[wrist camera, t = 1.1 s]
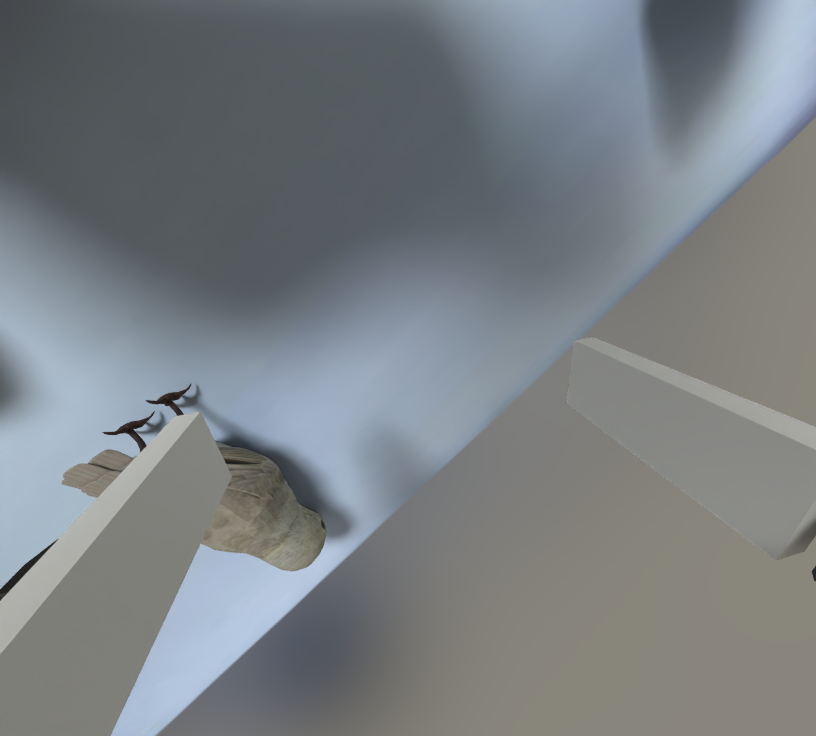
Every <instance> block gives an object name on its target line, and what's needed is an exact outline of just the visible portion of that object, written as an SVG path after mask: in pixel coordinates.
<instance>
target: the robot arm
mask: <svg viewBox="0 0 816 736" xmlns="http://www.w3.org/2000/svg"><path fill="white" fill-rule="evenodd" d="M566 403H567V404H568V405H569V406H571V407H572V408H574V409H575V410H576V411H577V412H579V413H580V414H581V415H583V416H584V417H585V418H587V419H588V420H589V421H591V422H592V423H593V424H595V425H596V426H597V427H599V428H600V429H601V430H603V431H604V432H605V433H607V434H608V435H609V436H610V437H612V438H613V439H615V440H616V441H617V442H619V443H620V444H621V445H623V446H624V447H625V448H627V449H628V450H629V451H630V452H632V453H633V454H635V455H636V456H637V457H639V458H640V459H641V460H642V461H644V462H645V463H646V464H648V465H649V466H650V467H652V468H653V469H654V470H656V471H657V472H658V473H660V474H661V475H662V476H664V477H665V478H666V479H668V480H669V481H670V482H672V483H673V484H674V485H676V486H677V487H678V488H680V489H681V490H682V491H684V492H685V493H686V494H688V495H689V496H690V497H692V498H693V499H694V500H695V501H697V502H698V503H700V504H701V505H702V506H703V507H705V508H706V509H708V510H709V511H710V512H711V513H713V514H714V515H715V516H717V517H718V518H720V519H721V520H722V521H723V522H725V523H726V524H727V525H729V526H730V527H731V528H733V529H734V530H735V531H737V532H738V533H739V534H741V535H742V536H743V537H745V538H746V539H747V540H749V541H750V542H751V543H753V544H754V545H755V546H757V547H758V548H759V549H761V550H762V551H763V552H765V553H766V554H767V555H769V556H770V557H771V558H773V559H774V560H775V561H776V560H779V559H782V558H785V557H788V556H791V555H794V554H798V553H800V552H804V551H805V550H806V549H807V547H808V546H809V544H810V543H811V541H812V540H813V539H814V537H815V536H816V427H814V426H811V425H809V424H806V423H804V422H801V421H799V420H797V419H794V418H792V417H789V416H787V415H784V414H782V413H779V412H777V411H774V410H772V409H769V408H767V407H764V406H762V405H760V404H757V403H755V402H752V401H749V400H747V399H745V398H742V397H740V396H737V395H735V394H732V393H730V392H727V391H725V390H722V389H720V388H717V387H715V386H713V385H710V384H708V383H705V382H703V381H700V380H698V379H695V378H693V377H690V376H688V375H685V374H683V373H681V372H678V371H676V370H673V369H671V368H668V367H665V366H663V365H661V364H658V363H656V362H653V361H650V360H649V359H646V358H643V357H641V356H638V355H636V354H633V353H631V352H629V351H626V350H624V349H621V348H619V347H616V346H614V345H611V344H609V343H607V342H603V341H601V340H599V339H596V338H594V337H589V338H584V339H578V340H574V345H573V353H572V361H571V369H570V376H569V384H568V391H567V399H566ZM231 478H232V475H231V473H230V471H229V469H228V467H227V465H226V463H225V461H224V459H223V457H222V455H221V453H220V451H219V448H218V446H217V444H216V442H215V440H214V438H213V436H212V434H211V432H210V430H209V428H208V426H207V424H206V422H205V420H204V418H203V416H202V414H201V412H195V413H190V414H185V415H180V416H175V417H174V418H173V419H172V420H171V421H170V422H169V423H168V424H167V425H166V426H165V427H164V428H163V429H162V430H161V431H160V432H159V433H158V434H157V436H156V437H155V438H154V439H153V440H152V441H151V442H150V443H149V444H148V445H147V446H146V447H145V448H144V449H143V450H142V451H141V452H140V454H139V455H138V456H137V457H136V458H135V459H134V460H133V461H132V462H131V463H130V464H129V465H128V466H127V467H126V468H125V469H124V470H123V471H122V473H121V474H120V475H119V476H118V477H117V478H116V479H115V480H114V481H113V482H112V483H111V484H110V485H109V486H108V487H107V488H106V489H105V491H104V492H103V493H102V494H101V495H100V496H99V497H98V498H97V499H96V500H95V501H94V502H93V503H92V504H91V505H90V506H89V507H88V509H87V510H86V511H85V512H84V513H83V514H82V515H81V516H80V517H79V518H78V519H77V520H76V521H75V522H74V523H73V524H72V525H71V527H70V528H69V529H68V530H67V531H66V532H65V533H64V534H63V535H62V536H61V537H60V538H59V539H57V540H56V541H55V542H53V543H52V544H51V545H50V546H48V547H47V548H46V549H44V550H43V551H42V552H40V553H39V554H38V555H37V556H35V557H34V558H33V559H31V560H30V561H29V562H28V563H26V564H25V565H24V566H23V567H22V568H21V569H20V570H19V571H18V572H17V573H16V574H15V575H14V576H13V577H12V578H11V579H10V580H9V581H8V582H7V583H6V584H5V585H4V586H3V587H2V588H1V589H0V736H110V735H111V733H112V731H113V729H114V727H115V725H116V723H117V720H118V718H119V716H120V714H121V712H122V710H123V708H124V706H125V703H126V701H127V699H128V697H129V695H130V693H131V691H132V689H133V686H134V684H135V682H136V680H137V678H138V676H139V674H140V671H141V669H142V667H143V665H144V663H145V661H146V659H147V657H148V654H149V652H150V650H151V648H152V646H153V644H154V642H155V640H156V637H157V635H158V633H159V631H160V629H161V627H162V625H163V622H164V620H165V618H166V616H167V614H168V612H169V610H170V608H171V605H172V603H173V601H174V599H175V597H176V595H177V593H178V590H179V588H180V586H181V584H182V582H183V580H184V578H185V576H186V573H187V571H188V569H189V567H190V565H191V563H192V561H193V559H194V556H195V554H196V552H197V550H198V548H199V546H200V544H201V541H202V539H203V537H204V535H205V533H206V531H207V529H208V527H209V524H210V522H211V520H212V518H213V516H214V514H215V512H216V510H217V507H218V505H219V503H220V501H221V499H222V497H223V495H224V492H225V490H226V488H227V486H228V484H229V482H230V480H231ZM812 574H813V578H814V581H816V566H815V568H814V569H813V570H812Z"/></svg>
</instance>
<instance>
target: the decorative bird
mask: <svg viewBox="0 0 816 736" xmlns="http://www.w3.org/2000/svg"><path fill="white" fill-rule="evenodd" d="M190 386H191V384H190V385H189V387H188V388H187V389H186V390H183V391H180V392H173V393H168V394H165V395H163V396H162V397H160V398H159V399H158V400H157V401H150V400H146V401H147V402H148V403H151V404H164V405H165V406H170V407H171V408H172V409H173V410H174V411H175V413H176V414H177V416H180V415H184V414H183V413H182V411H181V410H180V409H179V408H178V407H177V406H176V404H175V403H174V402H173V401H174V400H178V399H180V397H181V396H182V394H184V393H185V392H186V391H187V390H188V389H189V388H190ZM154 412H155V411H154ZM154 412H153V413H152V414H151V416H149V417H148V418H145V419H142V420H140V421H132V422H130V423H127V424H125V425H123V426H121V427H120V428H119V429H118V430H117V431H115V432H103V433H104V434H107V435H117V434H120V433H127V434H129V435H130V436H131V437H132V438H133V439H134V440H135V441H136V442H137V443H138V446H139V448H140V452H141V451H142V450H143V449H144V448H145V447H146V446H147V445H146V444H145V442H144V441H143V440H142V438H141V437H140V436H139V435H138V434H137V433H136V432H135V431H134V430H133V429H137V428H140V427H142V426H143V425H144V424H145V422H147V421H148V420H149V419H150V418H151V417H152V416H153V414H154ZM215 442H216V444H217V446H218V448H219V451H220V453H221V455H222V457H223V459H224V461H225V463H226V465H227V467H228V469H229V471H230V473H231V475H232V478H231V480H230V482H229V484H228V486H227V488H226V490H225V492H224V495H223V497H222V499H221V501H220V503H219V505H218V507H217V510H216V512H215V514H214V516H213V518H212V520H211V522H210V524H209V527H208V529H207V531H206V533H205V535H204V537H203V539H202V541H201V544H203V545H206V546H208V547H210V548H212V549H214V550H219V551H226V552H235V553H247V554H250V555H252V556H255V557H258V558H260V559H262V560H264V561H265V562H267V563H269V564H271V565H273V566H275V567H277V568H279V569H281V570H286V571H297V570H300V569H303V568H306V567H308V566H309V565H310V564H311V563H312V562H313V561H314V560H315V559H316V558H317V556H318V555H319V554H320V552H321V550H322V548H323V546H324V542H325V537H326V528H325V524H324V522H323V519H322V517H321V515H320V514H318V513H316V512H313V511H311V510H309V509H307V508H305V507H303V506H301V505H300V504H299V503H298V502H297V500H296V496H295V495H294V493H293V491H292V489H291V488H290V487H289V486H288V484H287V482H286V480H285V479H284V477H283V475H282V473H281V471H280V469H279V467H278V466H277V465H276V464H275V463H274V462H273V461H272V460H270V459H269V458H267V457H265V456H263V455H261V454H259V453H256V452H253V451H250V450H248V449H243V448H237V447H231V446H228V445H225V444H222V443H220V442H217V441H215ZM137 456H138V455H137ZM137 456H135V457H133V458H132V457H129V456H127V455H125V454H123V453H121V452H119V451H115V450H105V451H103V452H101V453H99V454H98V455H96V456H95V457H94V458H92V459H91V461H90V462H89V463H88V464H78V465H76V466H74V467H72V468H70V469H69V470H68V471H66V472H65V473H64V475H63V477H64V478H65V479H64V480H63V481H62V484H64V485H67V486H71V487H75V488H78V489H81V491H82V492H85V493H87V495H89V496H93V497H97V498H98V497H99V496H100V495H101V494H102V493H103V492H104V491H105V489H106V488H107V487H108V486H109V485H110V484H111V483H112V482H113V481H114V480H115V479H116V478H117V477H118V476H119V475H120V474H121V473H122V471H123V470H124V469H125V468H126V467H127V466H128V465H129V464H130V463H131V462H132V461H133V460H134V459H135V458H136V457H137Z"/></svg>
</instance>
